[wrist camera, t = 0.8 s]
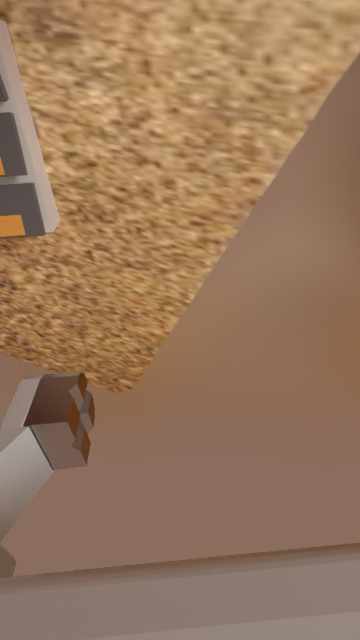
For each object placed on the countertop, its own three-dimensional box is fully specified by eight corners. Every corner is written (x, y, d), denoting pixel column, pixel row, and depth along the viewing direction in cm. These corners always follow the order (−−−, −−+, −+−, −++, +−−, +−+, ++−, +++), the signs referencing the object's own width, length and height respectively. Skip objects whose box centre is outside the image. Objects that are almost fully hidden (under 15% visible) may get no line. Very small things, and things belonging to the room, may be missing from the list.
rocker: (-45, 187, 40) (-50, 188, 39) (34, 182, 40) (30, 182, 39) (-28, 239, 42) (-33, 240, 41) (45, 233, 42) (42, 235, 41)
